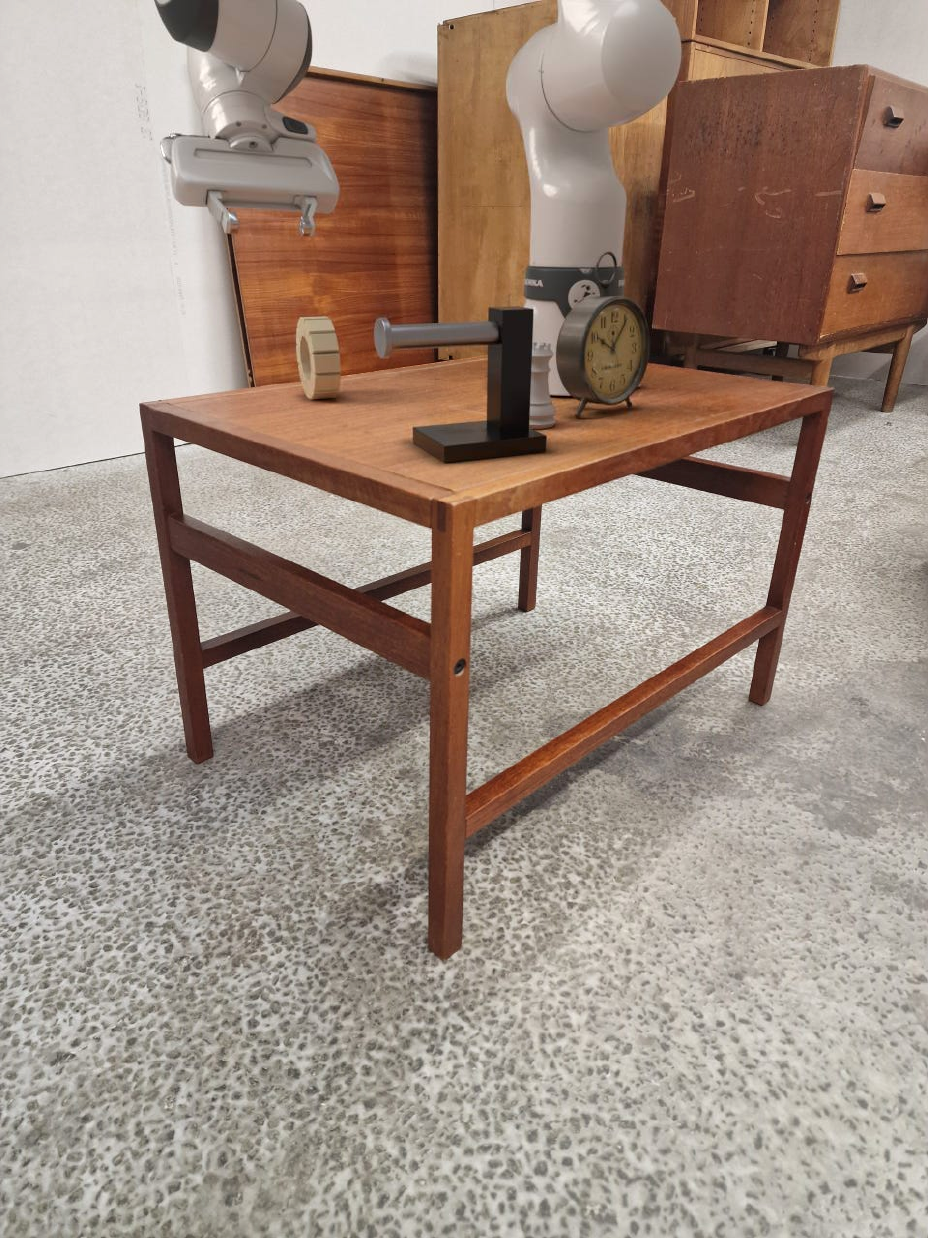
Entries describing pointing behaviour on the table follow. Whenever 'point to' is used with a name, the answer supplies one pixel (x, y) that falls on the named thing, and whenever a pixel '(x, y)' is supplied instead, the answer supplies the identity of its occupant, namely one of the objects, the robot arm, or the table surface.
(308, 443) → the table surface
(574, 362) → the alarm clock
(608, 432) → the table surface
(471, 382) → the table surface
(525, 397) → the peg stand
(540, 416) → the rook chess piece
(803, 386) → the table surface
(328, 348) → the notched ring
